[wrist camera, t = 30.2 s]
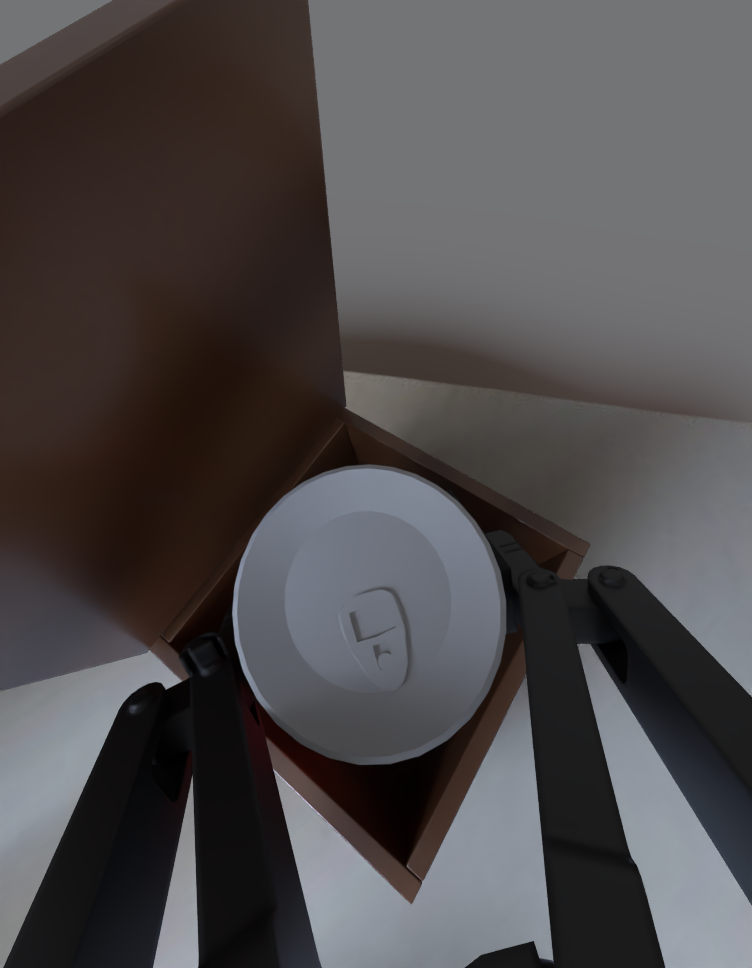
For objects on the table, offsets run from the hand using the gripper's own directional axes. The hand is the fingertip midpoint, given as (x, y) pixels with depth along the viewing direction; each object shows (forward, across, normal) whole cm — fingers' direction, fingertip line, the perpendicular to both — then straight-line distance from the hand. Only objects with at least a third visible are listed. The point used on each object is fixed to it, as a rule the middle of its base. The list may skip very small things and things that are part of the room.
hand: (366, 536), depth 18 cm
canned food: (0, 0, -5) cm, 5 cm away
